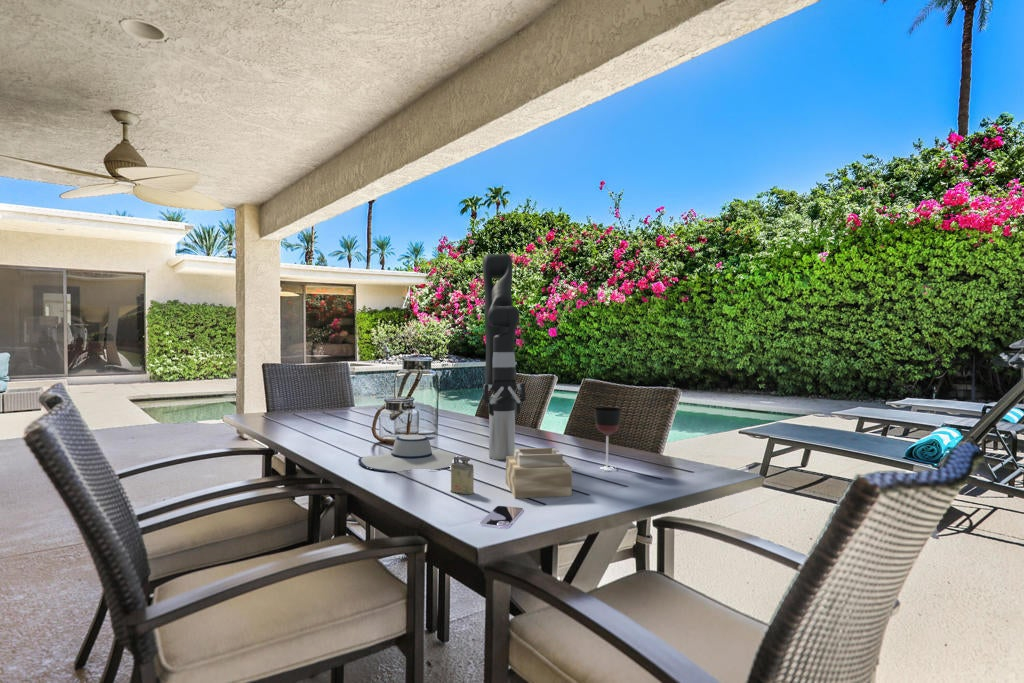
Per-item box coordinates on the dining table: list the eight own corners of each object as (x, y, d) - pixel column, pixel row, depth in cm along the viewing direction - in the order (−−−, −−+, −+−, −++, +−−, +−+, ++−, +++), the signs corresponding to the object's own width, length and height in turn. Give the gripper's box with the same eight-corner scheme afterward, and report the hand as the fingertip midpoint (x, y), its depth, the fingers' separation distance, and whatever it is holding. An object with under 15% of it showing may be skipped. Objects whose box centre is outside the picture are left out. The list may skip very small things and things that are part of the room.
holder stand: (505, 482, 177) (506, 446, 176) (557, 480, 179) (557, 445, 179) (515, 498, 161) (515, 458, 161) (571, 495, 164) (571, 456, 163)
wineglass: (620, 472, 190) (620, 411, 189) (593, 471, 192) (593, 410, 191) (620, 466, 198) (621, 407, 197) (594, 465, 199) (595, 407, 199)
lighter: (476, 492, 166) (476, 457, 166) (468, 495, 163) (469, 460, 163) (455, 489, 170) (455, 454, 170) (447, 492, 166) (447, 457, 166)
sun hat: (370, 480, 181) (370, 451, 181) (350, 456, 214) (349, 432, 214) (478, 468, 197) (478, 441, 196) (444, 447, 229) (444, 424, 229)
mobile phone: (524, 507, 151) (508, 526, 137) (524, 510, 151) (508, 530, 137) (496, 504, 153) (477, 523, 139) (496, 508, 153) (477, 527, 139)
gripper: (520, 365, 200) (521, 413, 199) (480, 366, 195) (480, 414, 195) (527, 365, 192) (528, 415, 192) (485, 366, 188) (486, 417, 188)
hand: (504, 415), depth 194 cm, fingers open, 8 cm apart
